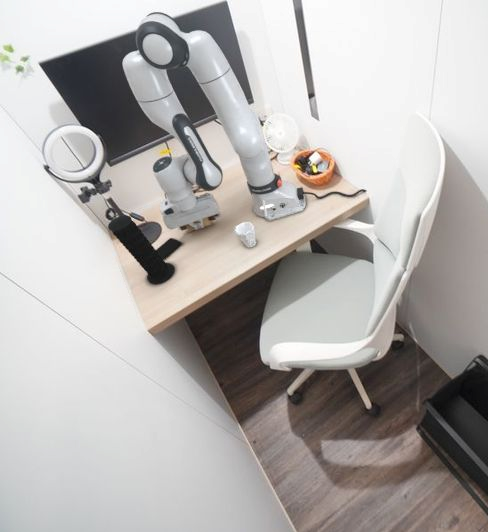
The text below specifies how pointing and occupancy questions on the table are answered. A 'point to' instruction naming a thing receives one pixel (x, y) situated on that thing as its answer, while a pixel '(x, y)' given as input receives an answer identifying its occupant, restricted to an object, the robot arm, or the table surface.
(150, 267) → the handle grip
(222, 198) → the table surface
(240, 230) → the cup
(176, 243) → the smartphone
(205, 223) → the rolling pin
